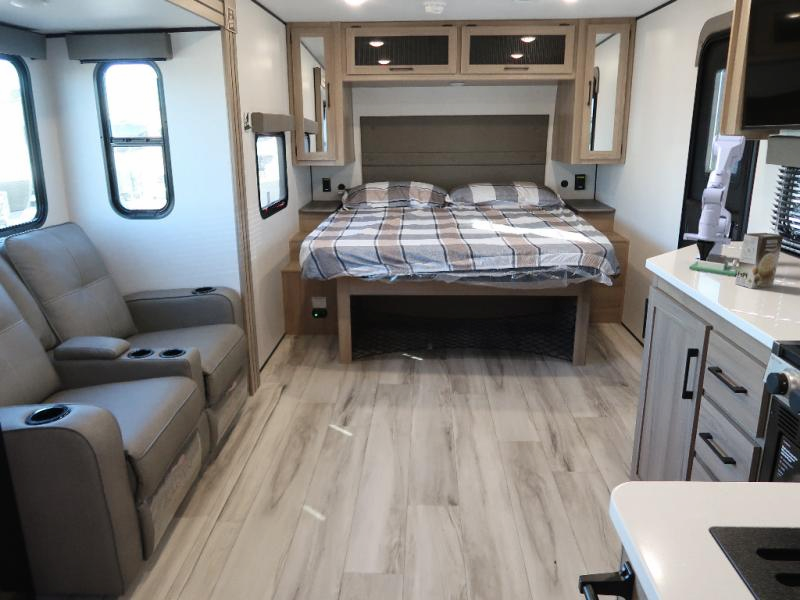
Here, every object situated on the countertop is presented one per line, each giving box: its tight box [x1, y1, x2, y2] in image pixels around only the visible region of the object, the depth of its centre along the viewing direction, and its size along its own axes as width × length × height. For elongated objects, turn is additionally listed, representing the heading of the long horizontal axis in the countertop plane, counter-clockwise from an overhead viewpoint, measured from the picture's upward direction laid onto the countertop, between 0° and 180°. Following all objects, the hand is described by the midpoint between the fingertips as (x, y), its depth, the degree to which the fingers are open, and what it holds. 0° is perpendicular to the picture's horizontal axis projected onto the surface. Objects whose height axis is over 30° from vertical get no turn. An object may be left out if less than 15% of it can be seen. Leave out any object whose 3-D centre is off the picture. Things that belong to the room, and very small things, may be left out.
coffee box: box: [734, 232, 784, 289], centre depth 189 cm, size 9×6×16 cm
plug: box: [707, 254, 727, 264], centre depth 209 cm, size 4×5×4 cm
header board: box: [688, 258, 738, 277], centre depth 209 cm, size 12×14×4 cm
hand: (702, 262), depth 212 cm, fingers closed
